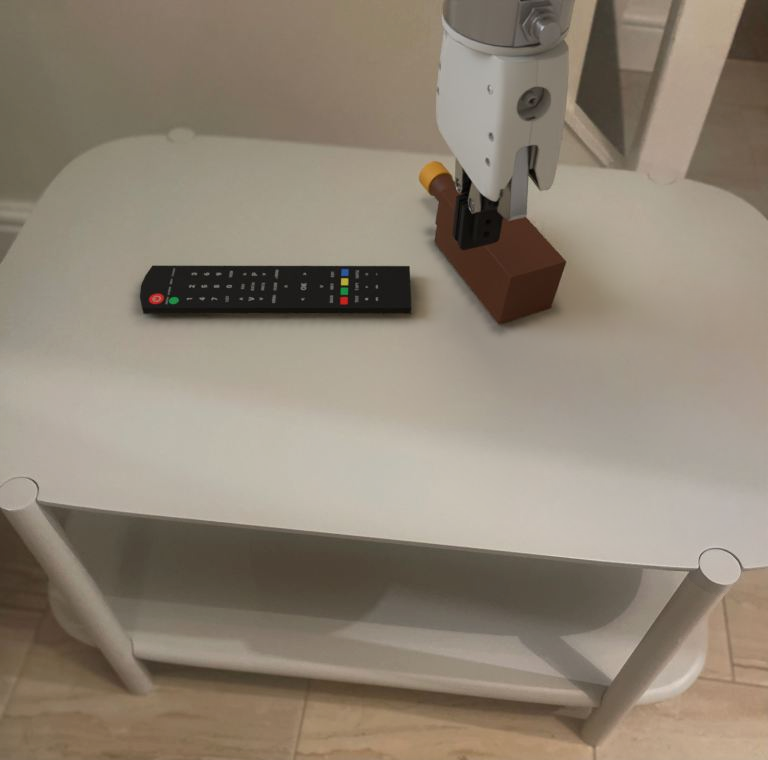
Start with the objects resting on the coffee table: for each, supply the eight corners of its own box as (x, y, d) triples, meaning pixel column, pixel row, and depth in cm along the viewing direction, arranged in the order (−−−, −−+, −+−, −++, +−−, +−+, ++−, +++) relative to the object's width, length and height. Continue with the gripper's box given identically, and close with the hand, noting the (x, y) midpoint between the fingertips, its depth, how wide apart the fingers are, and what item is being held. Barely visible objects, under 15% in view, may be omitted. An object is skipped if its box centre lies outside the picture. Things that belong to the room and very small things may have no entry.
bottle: (551, 308, 71) (451, 190, 82) (567, 261, 67) (459, 143, 77) (498, 325, 69) (403, 202, 80) (511, 277, 65) (409, 154, 75)
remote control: (410, 318, 70) (411, 308, 69) (138, 318, 70) (135, 307, 69) (409, 276, 73) (409, 265, 72) (149, 276, 73) (146, 265, 72)
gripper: (631, 53, 42) (565, 295, 57) (512, -65, 51) (480, 172, 65) (503, 77, 40) (468, 320, 55) (402, -48, 49) (395, 190, 64)
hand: (475, 239), depth 60 cm, fingers closed
